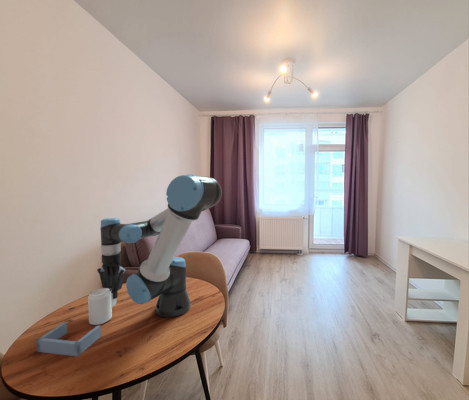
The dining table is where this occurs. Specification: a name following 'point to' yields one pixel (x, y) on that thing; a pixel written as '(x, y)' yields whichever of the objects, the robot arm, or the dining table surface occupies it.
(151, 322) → the dining table surface
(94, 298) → the beverage can
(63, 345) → the corral
